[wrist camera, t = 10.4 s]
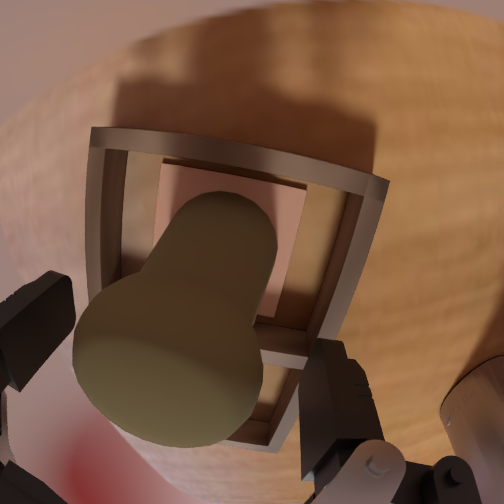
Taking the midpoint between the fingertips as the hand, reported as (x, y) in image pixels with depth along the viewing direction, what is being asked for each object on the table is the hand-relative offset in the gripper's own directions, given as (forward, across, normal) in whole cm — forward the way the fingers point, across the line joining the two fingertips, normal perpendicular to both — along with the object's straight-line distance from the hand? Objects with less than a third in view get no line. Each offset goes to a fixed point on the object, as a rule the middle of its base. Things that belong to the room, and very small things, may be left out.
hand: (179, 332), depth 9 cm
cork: (+8, 0, 0) cm, 8 cm away
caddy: (+8, 0, +5) cm, 9 cm away
